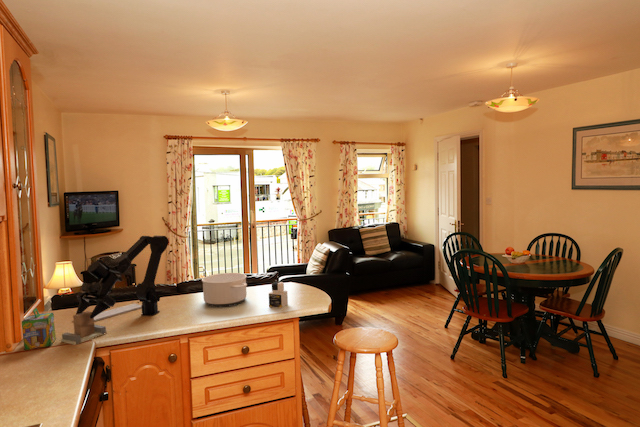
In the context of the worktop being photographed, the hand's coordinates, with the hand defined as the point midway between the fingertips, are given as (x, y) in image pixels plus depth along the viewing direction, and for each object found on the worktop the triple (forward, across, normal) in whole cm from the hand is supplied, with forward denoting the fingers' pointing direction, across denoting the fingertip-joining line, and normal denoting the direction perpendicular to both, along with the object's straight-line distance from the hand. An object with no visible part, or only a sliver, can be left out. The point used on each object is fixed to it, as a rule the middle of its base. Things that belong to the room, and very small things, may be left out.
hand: (83, 316), depth 170 cm
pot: (-37, +23, +51) cm, 67 cm away
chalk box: (+15, -10, -2) cm, 18 cm away
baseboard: (-11, -21, +25) cm, 34 cm away
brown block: (+6, 0, +5) cm, 8 cm away
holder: (+6, 0, +6) cm, 9 cm away
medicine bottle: (-41, +53, +54) cm, 86 cm away
